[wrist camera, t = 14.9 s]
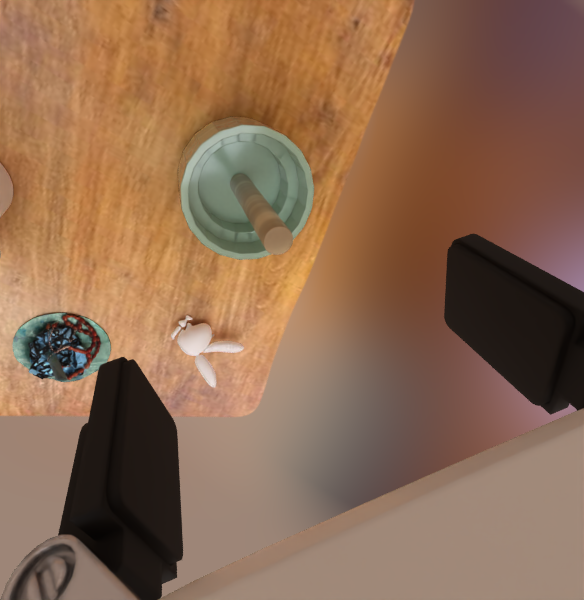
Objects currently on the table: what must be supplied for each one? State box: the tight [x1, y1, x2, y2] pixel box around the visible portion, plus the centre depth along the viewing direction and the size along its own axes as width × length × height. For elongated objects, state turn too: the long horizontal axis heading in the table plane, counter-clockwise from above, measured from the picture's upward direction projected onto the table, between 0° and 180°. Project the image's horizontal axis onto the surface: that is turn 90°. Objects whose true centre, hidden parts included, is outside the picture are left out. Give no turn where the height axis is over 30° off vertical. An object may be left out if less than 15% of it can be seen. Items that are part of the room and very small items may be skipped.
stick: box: [230, 173, 293, 255], centre depth 29 cm, size 2×2×14 cm
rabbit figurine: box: [171, 315, 244, 387], centre depth 42 cm, size 6×4×8 cm
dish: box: [13, 313, 111, 382], centre depth 39 cm, size 8×7×8 cm
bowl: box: [178, 117, 314, 260], centre depth 33 cm, size 11×11×6 cm
